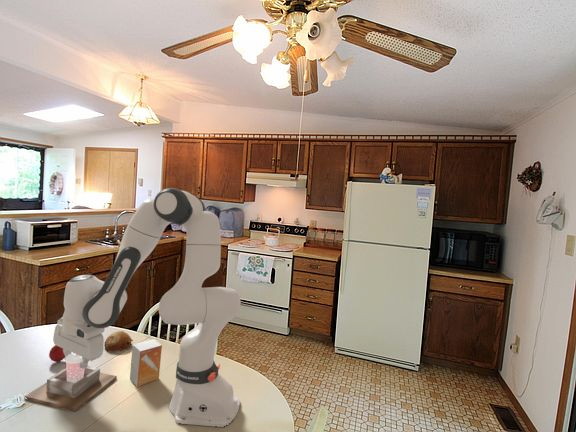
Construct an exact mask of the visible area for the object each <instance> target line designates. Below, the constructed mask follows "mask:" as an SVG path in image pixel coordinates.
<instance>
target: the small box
mask: <svg viewBox="0 0 576 432" xmlns="http://www.w3.org/2000/svg"><path fill="white" fill-rule="evenodd" d="M131 346H132V347H131V362H130V373H129V374H130V376H129V380H130V382H132V383H133V384H134V385H135V387H136V388H138V387H141V386H143V385H146V384H148V383H151V382H153V381H154V382H155V381H158V380H159V379H160V369H161V358H162V351H163V349H162V348H163V346H162V344H161V343H160V342H159V341H157V339H155V338H152V339H149V340H144V341H141V342H138V343H134V344H132V345H131Z"/></svg>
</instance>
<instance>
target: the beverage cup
mask: <svg viewBox="0 0 576 432" xmlns="http://www.w3.org/2000/svg"><path fill="white" fill-rule="evenodd" d="M71 353H72V352H71ZM64 360H66V361H65V362H66V364H65V365H66V367H65V368H66V370H67V381H68V382H73V383H76V382H78V381H79V380H81V379H82V378H83V377H84V370H85V368H84V369H82V368H80V363H81V362H82V361H83V359H82V357H81V356H79V355H77V354H75V353H72V354H69V355H68V356H67V357H66V359H65V358H64Z"/></svg>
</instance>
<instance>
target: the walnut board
mask: <svg viewBox="0 0 576 432" xmlns="http://www.w3.org/2000/svg"><path fill="white" fill-rule="evenodd" d="M116 380H117V375H114V374H108V373H104V372H101V369H100V368H98V367H94V366H89V365H88V366H87V367H86V368H85V370H84V377H83V378H82V379H81V380H79V381H78V382H76V383H73V382H68V381H67V370H66V367H65V368H64V369H62V370H60V371H59V372H57V373H55V374H54V375H52V376H50V377H49V378H47V379H46V382H45V383H43V384H42V385H40V386H39V387H37V388H35V389H34V390H33V391H31V392H29V393H28V394H26V395H24V398H25V397H26V398H27V399H28V400H27V401H29V402H30V401H31V402H35V403H38V404H42V405H43V404H44V405H47V406H50V407H55V408H59V409H64V410H67V411H71V412H77V411H78V410H79V409H80V408H82V407H83V406H84V405H85V404H87V403H88V402H89V401H91V400H92V399H93V398H95V397H96V396H97V395H98V394H99V393H101V392H102V391H103V390H105V389H106V388H107V387H108V386H109V385H111V384H112V383H113V382H114V381H116Z"/></svg>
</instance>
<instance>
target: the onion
mask: <svg viewBox="0 0 576 432" xmlns="http://www.w3.org/2000/svg"><path fill="white" fill-rule="evenodd" d="M48 357H49V359H50V360H51V361H53V362H56V363H60V362H62V361H63V360H65V355H64V352H63V348H61V347H59V346H57V345H55V344H54V345H53V347H51V349H50V350H49V353H48Z"/></svg>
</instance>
